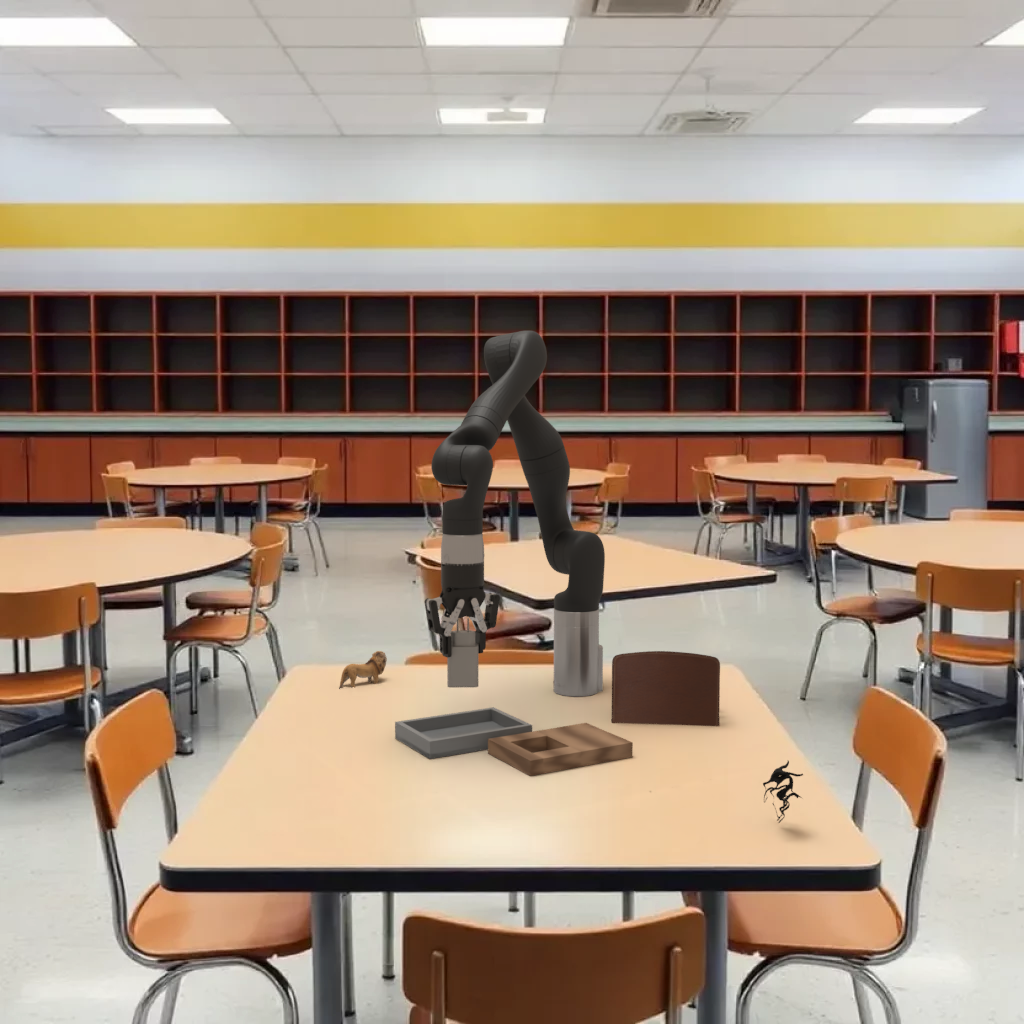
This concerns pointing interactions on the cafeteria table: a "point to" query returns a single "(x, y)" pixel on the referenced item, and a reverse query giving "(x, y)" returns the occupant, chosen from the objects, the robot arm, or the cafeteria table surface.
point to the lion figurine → (365, 669)
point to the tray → (457, 731)
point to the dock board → (559, 748)
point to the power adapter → (463, 659)
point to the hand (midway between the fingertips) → (462, 654)
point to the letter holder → (665, 688)
